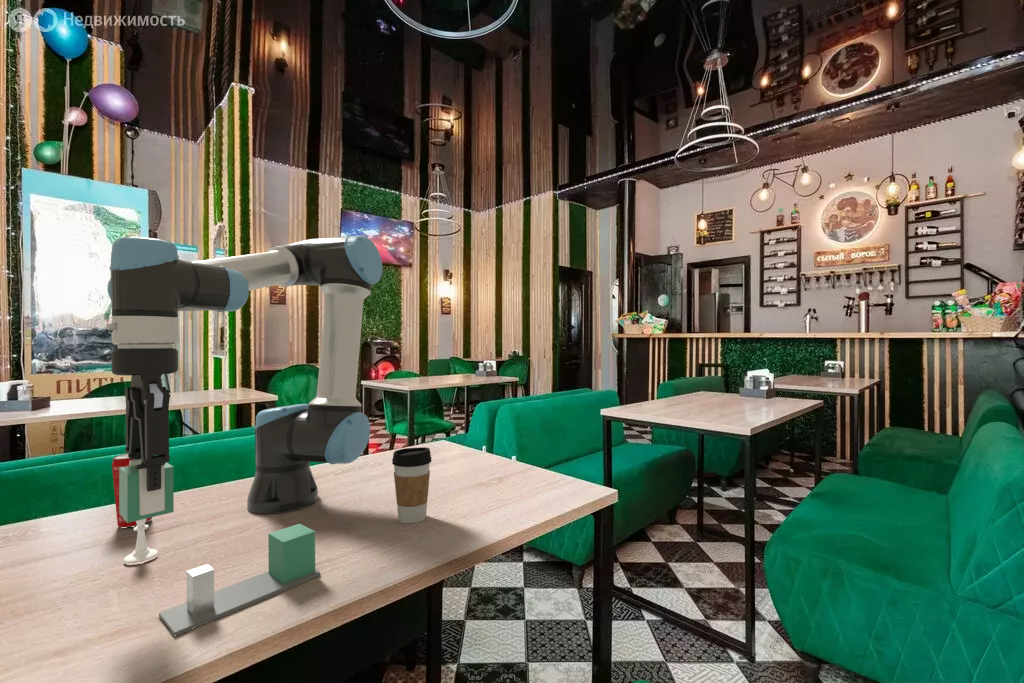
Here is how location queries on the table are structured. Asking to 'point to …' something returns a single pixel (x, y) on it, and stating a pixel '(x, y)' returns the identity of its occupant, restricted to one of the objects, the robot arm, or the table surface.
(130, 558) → the chess piece
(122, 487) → the green block
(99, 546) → the table surface
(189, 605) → the post
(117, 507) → the beverage can
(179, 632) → the stand
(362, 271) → the robot arm
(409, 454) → the coffee cup
